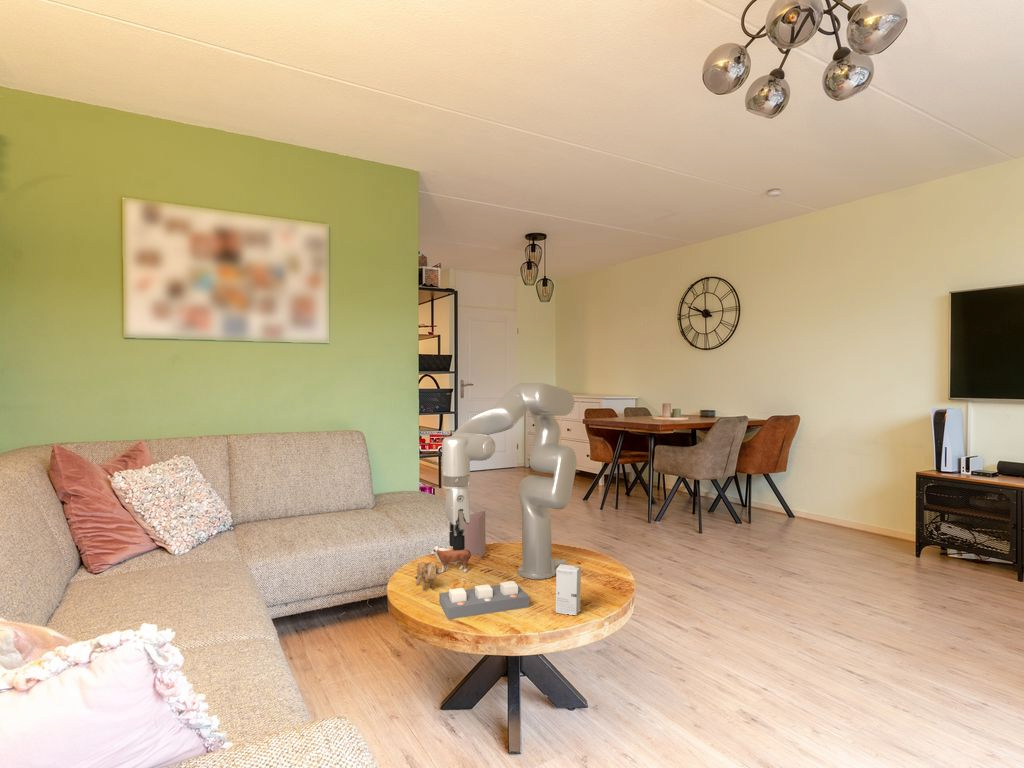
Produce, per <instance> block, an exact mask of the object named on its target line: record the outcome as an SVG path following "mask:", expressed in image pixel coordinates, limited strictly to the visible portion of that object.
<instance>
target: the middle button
mask: <svg viewBox="0 0 1024 768" xmlns="http://www.w3.org/2000/svg"><path fill="white" fill-rule="evenodd" d="M490 586H491V585H490V584H489V583H487V584H482V585H481V584H480V585H475V586H474V588H475V596H476V597H477V599H482V598H489V597H493V589H492V588H491V587H490Z"/></svg>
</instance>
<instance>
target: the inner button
mask: <svg viewBox="0 0 1024 768" xmlns="http://www.w3.org/2000/svg"><path fill="white" fill-rule="evenodd" d="M517 584H518V583H517ZM517 584H516V582H515V581H514V580H511V581H505V582H504V581H503V582H500V583H499V585H500V592H501V593H502V594H503V595H510V594H517V593H518V585H517Z"/></svg>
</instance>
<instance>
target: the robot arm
mask: <svg viewBox="0 0 1024 768" xmlns="http://www.w3.org/2000/svg"><path fill="white" fill-rule="evenodd" d="M574 407H575V398H574V395H573V394H572V392H571V391H570V390H568V389H566V388H562V387H559V386H555V385H553V384H552V385H551V384H548V383H543V382H521V383H517V384H516V385H514V386H513V387H512V388H510V389H509V390H508V392H506V393H505V395H504V396H503V397H502V398H501V399H499V401H498V402H497V403H496V404H495V405H494V406H493V407H491V408H488V409H487V410H485V411H482V412H481V413H479V414H477V415H475V416H473V417H471V418H469V419H468V420H466V421H465V422H464V423H463V424H461V425H460V426H459V427H458V428H457V429H456V430H455V431H454V432H453V433H452V435H451V436H446V437H444V438H443V439H442V441H441V454H442V455H441V458H442V459H441V461H442V463H441V464H442V467H441V468H442V488H443V489H445V516H446V519H447V520H448V521H449V526H448V527H449V528H448V529H449V533H448V534H449V535H448V536H449V538H448V539H449V546H450V547H452V550H454V551H456V550H464V549H465V533H464V529H465V526H464V521H465V522H466V523H467V524H469V523H470V514H471V510H470V494H469V493H470V492H469V488H470V487H471V474H470V473H471V470H470V469H471V467H470V465H471V464H470V462H471V461H475V462H477V461H479V462H480V461H487V460H488V459H490V458H492V457H493V455H494V454H495V452H496V448H497V447H496V442H495V440H494V438H492V437H491V435H494V434H499V433H502V432H505V431H508V430H511V429H512V428H514V427H515V425H516V424H517V423H518V422H519V421H520V420H521V419H522V418H523V417H524V415H525V414H526V413H528V412H529V414H530V415H531V417H532V419H533V424H534V433H533V434H534V435H533V440H532V445H531V449H530V454H529V467H530V468H531V470H533V471H535V472H539V473H545V474H552V475H553V477H547V476H542V475H541V476H540V475H528V476H525V477H523V478H522V480H520V482H519V484H518V497H519V498H518V499H519V503H520V507H521V508H520V509H521V531H522V532H521V534H522V535H521V541H522V542H521V545H522V547H521V548H522V549H521V550H522V552H521V553H522V565H521V566H519V567H518V568H517V574H518V575H519V576H520V577H522V578H524V577H525V579H529V578H530V580H546V579H550V578H552V576H553V577H554V576H556V575H555V574H556V569H557V568H558V566H559V565H560V564H563V565H567V562H566V559H564V558H563V559H560V558H557V557H556V558H553V557H552V556H553V555H552V516H551V513H550V510H549V509H553V510H563V509H565V508H567V506H568V505H569V503H570V501H571V497H572V491H573V487H574V482H575V476H576V470H577V463H578V462H577V454H576V452H575V450H574V449H573V448H572V447H571V446H568V445H565V444H559V443H560V437H561V427H560V425H559V422H558V421H557V418H556V416H560V417H561V416H562V417H565V416H568V415H570V414H571V413H572V412H573V410H574ZM549 577H550V578H549ZM545 578H546V579H545Z"/></svg>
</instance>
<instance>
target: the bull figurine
mask: <svg viewBox="0 0 1024 768" xmlns="http://www.w3.org/2000/svg"><path fill="white" fill-rule="evenodd" d="M431 554H432V555H434V556H435V557H436V558H437V560H438V561H439V563H440V564H442V565H441V569H442V570H441V572H440V574H443V573H444V572H445V571H448V570H449V569H450V567H449V564H453V565H454V566H457V565H458V563H459V562H461V564H460V566H459V568H457V570H458V571H461V570H463V569H464V570H463V573H464V574H465V573H467V572H468V567H469V560H470V558H471V557H472V556H471V552H470V551H469V550H468V549H464V550H456V551H454V550H453V549H449V548H444V547H443V546H439V545H436V546H434V548H432V551H431ZM469 554H470V556H469ZM442 572H443V573H442Z"/></svg>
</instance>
